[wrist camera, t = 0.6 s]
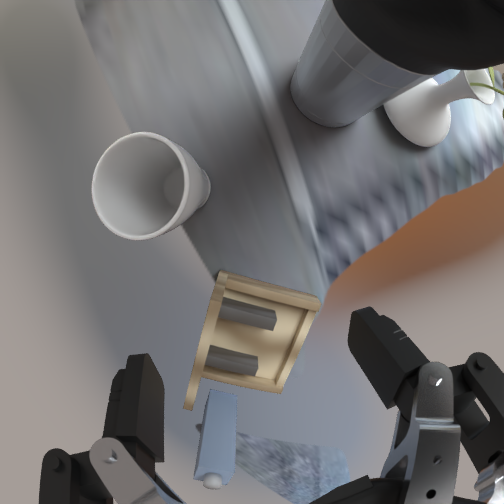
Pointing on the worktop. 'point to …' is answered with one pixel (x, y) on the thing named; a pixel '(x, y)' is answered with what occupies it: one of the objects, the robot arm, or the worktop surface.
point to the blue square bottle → (217, 440)
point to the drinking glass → (147, 186)
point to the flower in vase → (437, 105)
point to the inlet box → (251, 334)
